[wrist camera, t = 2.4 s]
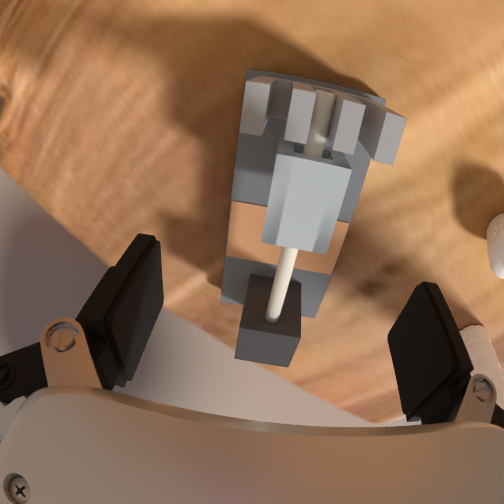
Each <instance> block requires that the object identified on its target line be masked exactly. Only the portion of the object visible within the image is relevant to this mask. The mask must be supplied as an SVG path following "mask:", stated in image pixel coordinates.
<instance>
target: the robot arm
mask: <svg viewBox="0 0 504 504" xmlns="http://www.w3.org/2000/svg"><path fill="white" fill-rule="evenodd" d="M163 301H164V295H163V282H162V266H161V247H160V241H157V240H156V238H155V236H152V235H146V234H141V233H139V234H138V235H137V236H136V237H135V239H134V240H133V241H132V243H131V244H130V246H129V247H128V248H127V250H126V251H125V253H124V254H123V255H122V257H121V258H120V260H119V261H118V263H117V264H116V265H115V266H112V267H110V268H109V269H108V270H107V272H106V273H105V275H104V276H103V278H102V279H101V281H100V282H99V284H98V285H97V287H96V288H95V290H94V291H93V293H92V294H91V296H90V297H89V299H88V300H87V302H86V303H85V305H84V306H83V308H82V310H81V311H80V313H79V314H78V316H77V318H76V319H75V320H73V319H70V318H61V319H57V320H54V321H52V322H51V323H49V324H48V325H47V326H46V327H45V328H44V330H43V331H42V334H41V337H40V342H38V343H35V344H33V345H30V346H27V347H25V348H22V349H19V350H17V351H14V352H11V353H8V354H6V355H3V356H0V504H504V410H503V409H502V408H501V407H500V406H499V405H497V404H496V400H497V392H496V388H495V386H494V384H493V382H492V381H491V380H490V379H489V378H488V377H487V376H485V375H483V374H475V375H473V376H472V377H471V374H470V373H471V372H472V371H473V370H474V367H473V364H472V362H471V359H470V356H469V354H468V351H467V349H466V346H465V344H464V341H463V339H462V336H461V334H460V332H459V329H458V327H457V325H456V323H455V320H454V318H453V316H452V314H451V311H450V309H449V307H448V305H447V303H446V301H445V299H444V297H443V295H442V293H441V291H440V289H439V287H438V285H437V284H435V283H430V282H422V283H421V284H420V285H417V286H416V288H415V290H414V291H413V293H412V295H411V297H410V298H409V300H408V302H407V304H406V305H405V307H404V309H403V310H402V312H401V314H400V315H399V317H398V319H397V320H396V322H395V323H394V325H393V327H392V328H391V330H390V331H389V334H388V344H389V348H390V353H391V357H392V361H393V366H394V370H395V375H396V380H397V385H398V390H399V395H400V400H401V406H402V411H403V413H404V414H405V415H406V418H407V422H413V421H419V420H420V419H421V423H422V424H421V425H412V426H395V427H320V426H303V425H290V424H280V423H270V422H261V421H253V420H246V419H239V418H232V417H226V416H220V415H215V414H209V413H204V412H199V411H194V410H189V409H184V408H180V407H175V406H171V405H166V404H162V403H157V402H153V401H150V400H146V399H142V398H138V397H134V396H130V395H126V394H122V393H118V392H114V391H111V390H113V388H114V385H117V386H120V387H125V384H126V382H127V380H128V381H131V380H132V379H133V376H134V374H135V371H136V369H137V366H138V364H139V361H140V358H141V356H142V353H143V351H144V349H145V346H146V344H147V341H148V339H149V337H150V334H151V332H152V329H153V327H154V324H155V322H156V320H157V318H158V315H159V313H160V311H161V308H162V306H163Z"/></svg>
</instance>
